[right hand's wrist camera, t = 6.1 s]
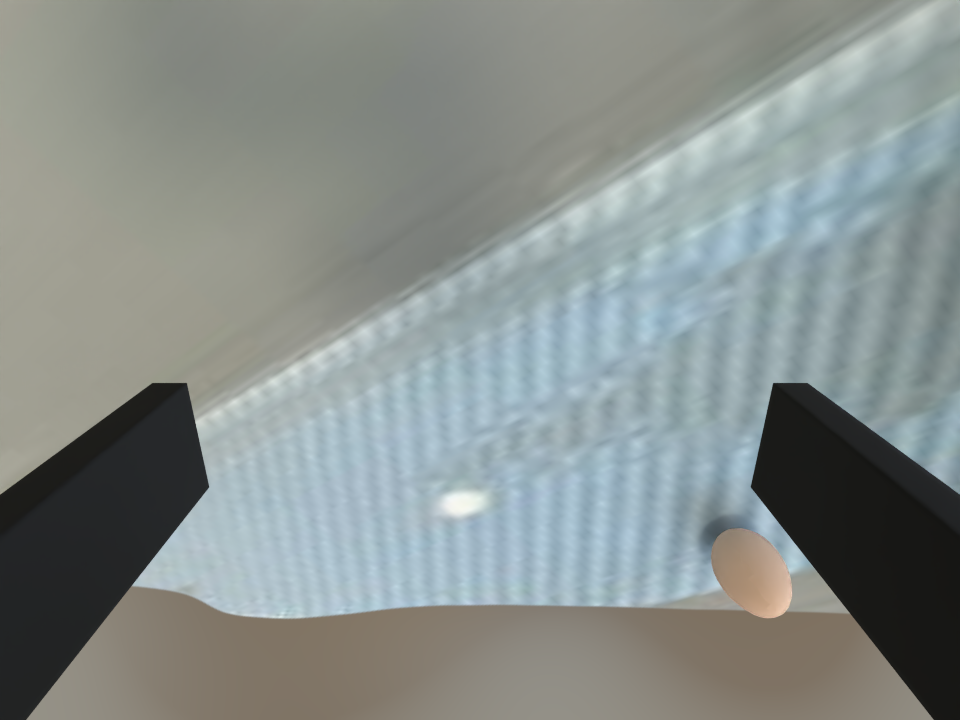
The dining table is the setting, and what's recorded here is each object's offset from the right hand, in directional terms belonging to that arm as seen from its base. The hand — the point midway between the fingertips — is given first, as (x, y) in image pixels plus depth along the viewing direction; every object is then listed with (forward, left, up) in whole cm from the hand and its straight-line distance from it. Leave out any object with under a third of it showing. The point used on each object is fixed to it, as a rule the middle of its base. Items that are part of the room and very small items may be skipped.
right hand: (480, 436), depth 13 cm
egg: (+26, +22, -28) cm, 44 cm away
